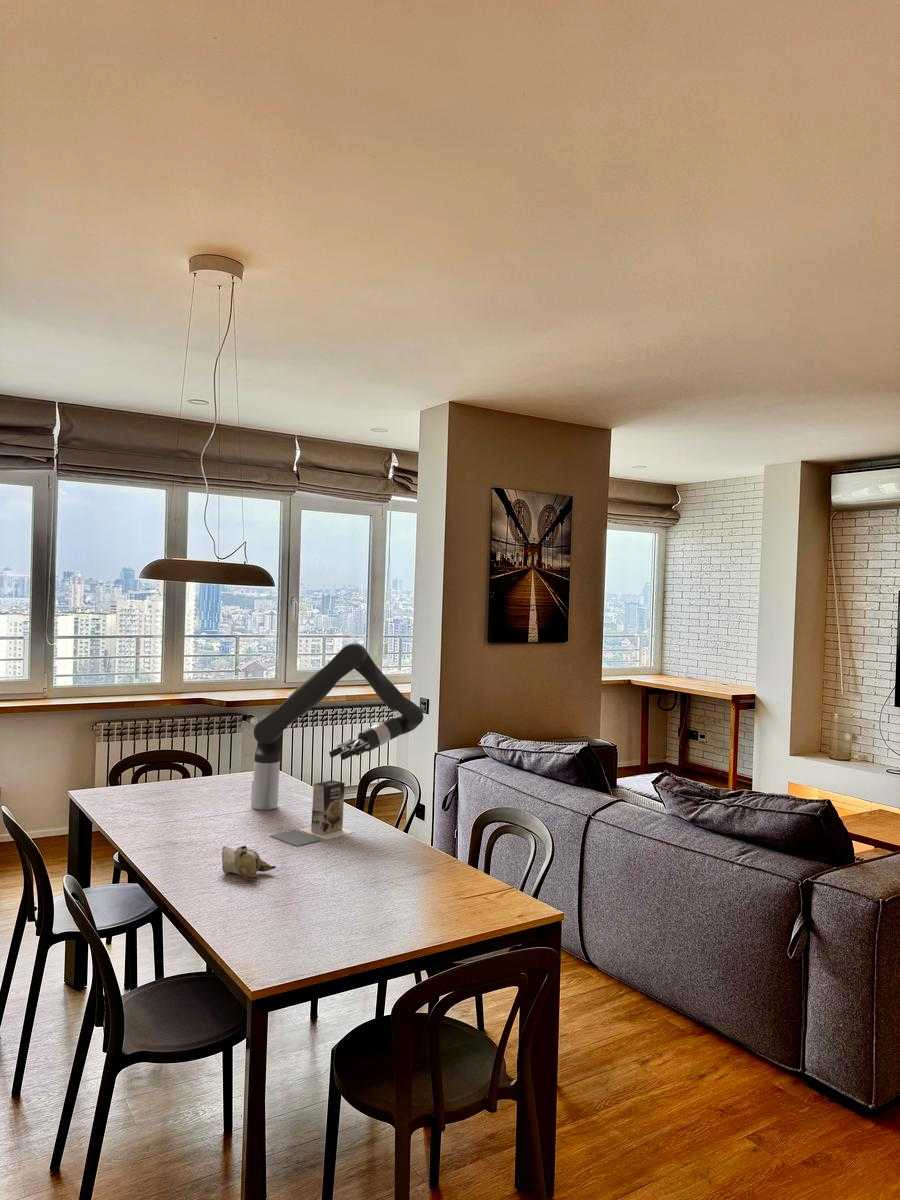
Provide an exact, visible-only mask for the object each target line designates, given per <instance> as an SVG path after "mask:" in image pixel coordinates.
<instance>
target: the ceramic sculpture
mask: <svg viewBox="0 0 900 1200" xmlns="http://www.w3.org/2000/svg"><path fill="white" fill-rule="evenodd" d="M221 862H222V863H221V864H222V867H221V869H222V872H223V874H225V875H226V874H231V873H234V874H236V875H238V876H240V877H243V879H245V880H248V881H251V880H252V881H253V880H256V879H259V877H258V875H257V873H258V872H263V873H265V872H269V871H272V870H275V869H276V868H277V866H275V865H271V864H269V863H268V862H266V861H265V860H263V859H261V857H260V855H259V853H258V852H257V851H255V850H253V849H248V847H247V846H246V845H240V846H239V847H237V848H236V849H234V848H231V847H227V846H226V845H225V846H223V847H222V851H221Z"/></svg>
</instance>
